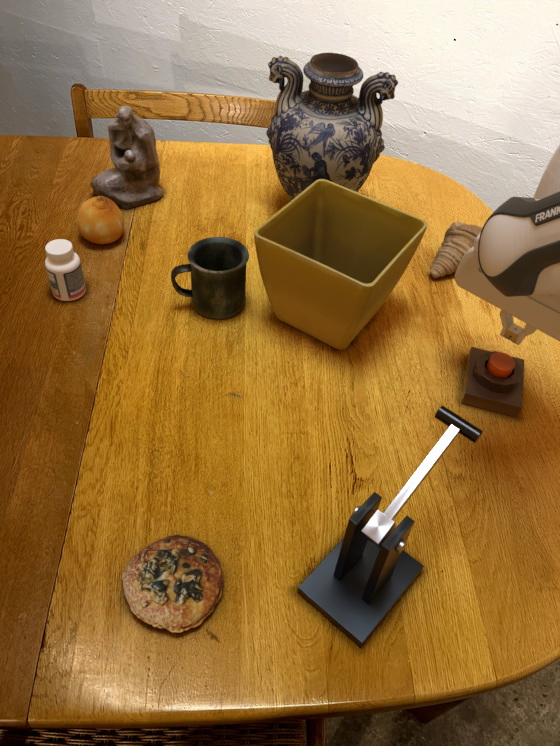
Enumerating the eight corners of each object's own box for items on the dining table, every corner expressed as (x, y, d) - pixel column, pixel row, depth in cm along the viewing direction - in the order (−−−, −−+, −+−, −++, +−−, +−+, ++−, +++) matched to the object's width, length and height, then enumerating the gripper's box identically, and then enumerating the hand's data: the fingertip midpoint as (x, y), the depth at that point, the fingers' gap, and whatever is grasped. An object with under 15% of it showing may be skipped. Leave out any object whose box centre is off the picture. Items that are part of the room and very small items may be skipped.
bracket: (360, 523, 80) (380, 458, 70) (421, 570, 76) (452, 509, 66) (296, 591, 73) (308, 531, 63) (360, 647, 70) (383, 592, 59)
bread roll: (219, 533, 77) (217, 517, 73) (228, 631, 71) (227, 619, 67) (124, 545, 76) (117, 530, 72) (125, 645, 70) (117, 635, 66)
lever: (442, 409, 71) (443, 401, 69) (482, 435, 69) (484, 427, 67) (351, 527, 68) (349, 522, 66) (391, 557, 66) (390, 553, 63)
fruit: (140, 230, 113) (118, 186, 110) (102, 252, 109) (78, 208, 106) (120, 231, 119) (98, 190, 116) (83, 252, 116) (60, 211, 112)
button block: (516, 417, 93) (526, 399, 90) (461, 403, 94) (468, 384, 91) (519, 369, 99) (528, 351, 96) (467, 356, 101) (474, 337, 98)
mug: (252, 318, 103) (255, 269, 96) (177, 327, 101) (173, 278, 93) (241, 282, 109) (242, 233, 102) (169, 290, 106) (165, 241, 99)
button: (510, 381, 93) (514, 372, 91) (485, 374, 93) (488, 366, 92) (511, 363, 95) (515, 355, 94) (487, 357, 95) (490, 349, 94)
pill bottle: (89, 281, 107) (80, 237, 100) (82, 303, 103) (73, 258, 97) (56, 280, 106) (45, 235, 100) (48, 301, 103) (36, 256, 96)
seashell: (432, 295, 117) (470, 298, 111) (413, 263, 112) (453, 264, 106) (467, 241, 121) (506, 241, 115) (450, 208, 116) (490, 206, 110)
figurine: (89, 208, 121) (72, 114, 107) (98, 174, 128) (83, 83, 115) (161, 210, 122) (153, 118, 108) (165, 177, 129) (158, 86, 116)
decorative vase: (373, 193, 130) (401, 47, 110) (368, 247, 118) (399, 95, 97) (268, 178, 132) (276, 32, 111) (252, 231, 119) (258, 77, 98)
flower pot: (407, 306, 108) (431, 220, 95) (351, 374, 96) (370, 287, 84) (309, 262, 114) (320, 176, 102) (247, 321, 103) (250, 233, 90)
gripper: (641, 286, 77) (591, 365, 87) (488, 212, 85) (460, 293, 95) (620, 311, 73) (572, 391, 84) (464, 232, 82) (437, 313, 92)
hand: (511, 338), depth 90 cm, fingers closed
